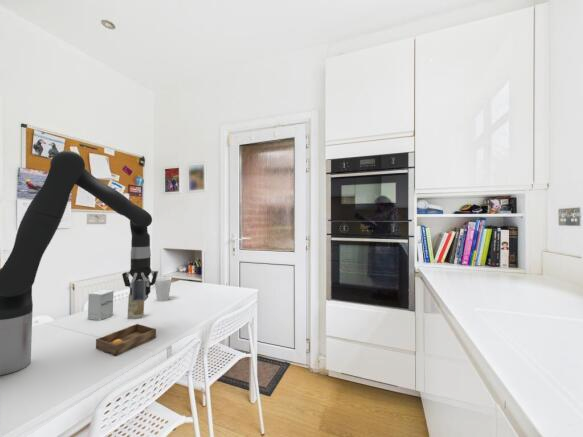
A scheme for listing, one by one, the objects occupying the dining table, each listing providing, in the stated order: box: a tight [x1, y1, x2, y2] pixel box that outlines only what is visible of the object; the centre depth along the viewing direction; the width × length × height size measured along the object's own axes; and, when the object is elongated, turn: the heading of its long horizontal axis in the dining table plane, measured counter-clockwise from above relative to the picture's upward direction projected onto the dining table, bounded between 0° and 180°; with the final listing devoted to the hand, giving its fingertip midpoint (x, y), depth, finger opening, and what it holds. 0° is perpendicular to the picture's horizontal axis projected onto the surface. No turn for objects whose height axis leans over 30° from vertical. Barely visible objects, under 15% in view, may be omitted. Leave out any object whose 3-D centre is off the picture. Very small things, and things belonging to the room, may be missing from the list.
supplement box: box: [87, 289, 114, 321], centre depth 125 cm, size 7×7×13 cm
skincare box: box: [127, 293, 145, 320], centre depth 126 cm, size 6×4×12 cm
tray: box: [95, 323, 157, 357], centre depth 99 cm, size 16×12×4 cm
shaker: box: [132, 280, 149, 302], centre depth 110 cm, size 5×5×8 cm
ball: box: [112, 339, 122, 345], centre depth 94 cm, size 3×3×3 cm
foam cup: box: [154, 276, 172, 302], centre depth 154 cm, size 10×9×13 cm
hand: (140, 295), depth 110 cm, fingers closed on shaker, 5 cm apart
